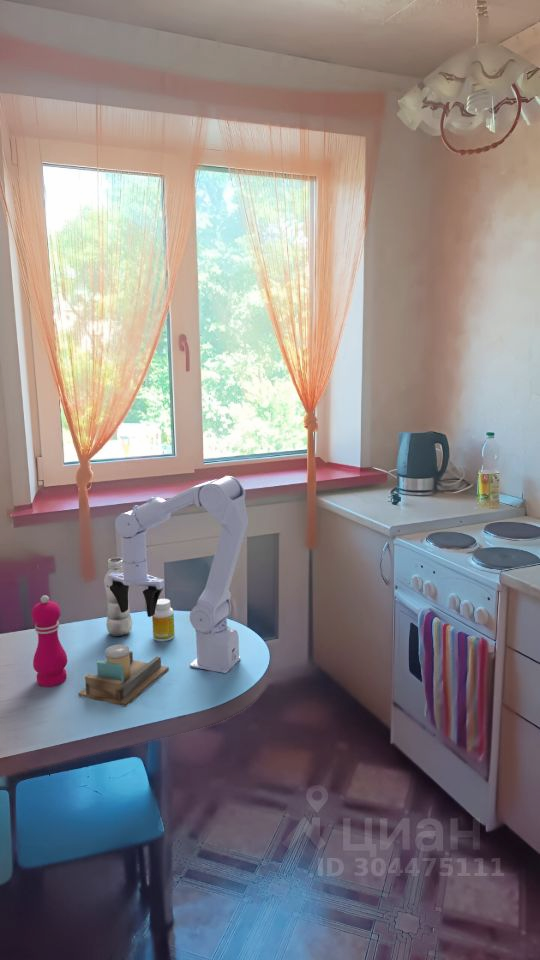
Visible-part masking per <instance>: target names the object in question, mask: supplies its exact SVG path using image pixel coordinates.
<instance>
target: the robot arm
mask: <svg viewBox="0 0 540 960" xmlns="http://www.w3.org/2000/svg"><path fill="white" fill-rule="evenodd" d="M246 494H247V493H246V490H245V488H244V487H243V485H242V483H241V482H240V481H239V479H238V478H236V477H234V476H230V475H225V476H223V477H222V478H220V479H213V480H210V481H206V482H203V483H200V484H196V485H195V486H192V487H190V488H188V489H186V490H184V491H181V492H180V493H177V494H176V495H174V496H171V497H170V498H167V499H164V498H161V497H154V496H153V497H150V498H149V499H147V500H146V502H145V503H143V504H141V505H134V506H132V507H131V510H128V511H127V512H122V513H120V515H118V516H117V517H116V519H115V520H114V521H115V522H114V526H115V527H114V528H115V530H116V532H117V533H118V535H119V536H120V543H121V558H122V561H123V567H122V568H123V573H111V574H109V575H108V579H109V583H113V584H112V585H111V586H110V590H111V591H112V593H113V594H114V596H115V598H116V600H117V602H118V604H119V607H120V610H121V612H122V613H124V612H125V611H127V610H128V600H129V598H128V590H129V589H130V586H132V585H133V586H140V587H147V588H146V589H144V590H143V591H142V594H143V596H144V599H145V604H146V605H145V606H146V615H147V617H149V618H151V617H152V616H153V615H154V614H155V609H156V604H157V601H158V599H160V598H159V597H160V595H161V593H162V591H163V588H165V579H164V578H159V577H155V576H153V575H150V574H148V557H147V556H148V555H147V541H146V537H147V531H148V530H149V529H152V528H154V527H155V526H158V525H161V524H163V523H165V522H167V521H169V520H170V519H171V515H172V513H174V512H176V511H178V510H180V509H182V508H183V509H184V508H186V507H188V506H190V505H193V504H194V505H195V506H197V508H198V507H199V508H201V507H203V508H204V509H205V510H206V511H207V512H208V513H209V514H210V515H211V517H213V518H214V519H215V520H216V521H217V522H218V523H219V524H220V525H221V527H222V528H221V531H220V534H219V535H220V536H219V538H218V540H217V545H216V549H215V553H214V555H213V559H212V562H211V566H210V570H209V574H208V578H207V581H206V584H205V588H204V590H203V591H202V593H201V595H200V596H199V598H198V600H197V602H196V605H195V606H194V607H193V608H192V609H191V611H190V613H189V622H190V624H191V626H192V627H193V629H195V630H194V631H195V638H196V641H195V642H196V658H195V659H194V660H193V661H192V662H191V663H190V664H189V667H191V668H196V669H201V670H207V671H212V672H218V673H223V674H226V673H229V671H230V670H231V669H232V668H233V667H234V666H235V664H237V663H238V662H239V660H241V655H240V646H239V644H240V641H239V633H238V630H236V629H233V628H232V627H230V626H228V620H227V617H228V616H229V615H230V613H231V611H232V604H231V597H232V593H231V592H230V591H229V589H230V587H231V583H232V581H233V580H232V579H233V575H234V573H235V570H236V566H237V562H238V560H239V557H240V552H241V550H242V549H241V548H242V546H243V541H244V538H245V535H246V532H247V528H248V524H249V517H248V512H247V506H246V502H245V501H246V500H245V498H246ZM129 591H130V590H129Z"/></svg>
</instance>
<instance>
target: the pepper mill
mask: <svg viewBox="0 0 540 960" xmlns="http://www.w3.org/2000/svg"><path fill="white" fill-rule="evenodd" d="M60 617H61V608H60V606H59V604H58V603H56V602H55V601H53V600H50V597H49V596H48V595H46V594H45V595H42V596H40V602H38V603H36V604H35V605H34V606H33V607H32V610H31V618H32V619H31V620H32V622H34V624H35V625H34V627H35V632H36V634H37V641H38V642H37V646H36V650H35V653H34V656H33V661H32V665H33V667H32V668H33V670H34V671H35V672H37V674H36V683H37V685H38V686H40V687H43V688H49V687H50V688H51V687H56V686H58V685H61V684H62V683H64V682H65V681H66V680H67V670H66V669H65V668H66V666H67V664H68V656H67V652H66V651H65V649H64V647H63V645H62V643H61V642H60V639H59V636H58V635H59V633H58V630H59V629H60V625H59V624H60V622H59V621H58V620H59V619H60Z"/></svg>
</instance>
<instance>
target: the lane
mask: <svg viewBox="0 0 540 960" xmlns="http://www.w3.org/2000/svg"><path fill="white" fill-rule="evenodd" d="M129 651H130V650H129ZM133 654H134V653H133V651H130V652H129V659H130V675H131V677H130V678H129V679H128V680H127V681H126V682H124V683H123V681H120V680H115V679H110V678H105V677H100V676H98V673H97V674H96V675H95V674H91V673H90V674H89V673H88V674H86V675H85V676H84V681H85V687H84V688H83V689H81V691H79V692H78V693H77V695H78V696H79V697H82V698H85V699H86V698H87V699H89V700H90V699H92V700H95V701H100V702H104V703H109V704H113V705H118V706H121V707H127V706H128V705H130V704H131V703H132V702H133V701H134V700H135V699H136V698H137V697H139V696H140V695H141V694H142V693H143V692H144V691H146V690H147V689H148V688H150V686H151V685H153V684H154V683H155V682H156V681H157V680H158V679H160V677H161V676H163V675H164V674H166V672H167V671H168V670H169V669H170V668H169V666H166V665H162V661H161V659H162V658H161V656H159V655H157V656H155V657H154V658H153V659H151V661H149V662H145V661H140V660H136V659H135V660H134V656H133Z"/></svg>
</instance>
